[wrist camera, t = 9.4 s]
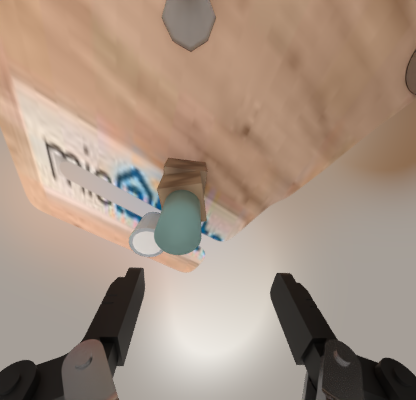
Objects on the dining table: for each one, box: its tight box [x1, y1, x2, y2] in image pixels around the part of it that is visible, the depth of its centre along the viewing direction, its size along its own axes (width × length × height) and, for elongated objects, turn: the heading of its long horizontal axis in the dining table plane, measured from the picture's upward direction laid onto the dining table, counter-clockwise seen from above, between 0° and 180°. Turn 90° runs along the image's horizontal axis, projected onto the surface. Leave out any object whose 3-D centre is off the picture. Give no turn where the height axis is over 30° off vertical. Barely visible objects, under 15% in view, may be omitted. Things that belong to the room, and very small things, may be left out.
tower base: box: [164, 158, 207, 195], centre depth 34 cm, size 7×7×6 cm
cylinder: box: [154, 190, 201, 255], centre depth 23 cm, size 5×5×7 cm
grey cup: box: [129, 212, 163, 257], centre depth 38 cm, size 7×7×7 cm
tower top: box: [157, 170, 207, 222], centre depth 29 cm, size 6×6×6 cm
